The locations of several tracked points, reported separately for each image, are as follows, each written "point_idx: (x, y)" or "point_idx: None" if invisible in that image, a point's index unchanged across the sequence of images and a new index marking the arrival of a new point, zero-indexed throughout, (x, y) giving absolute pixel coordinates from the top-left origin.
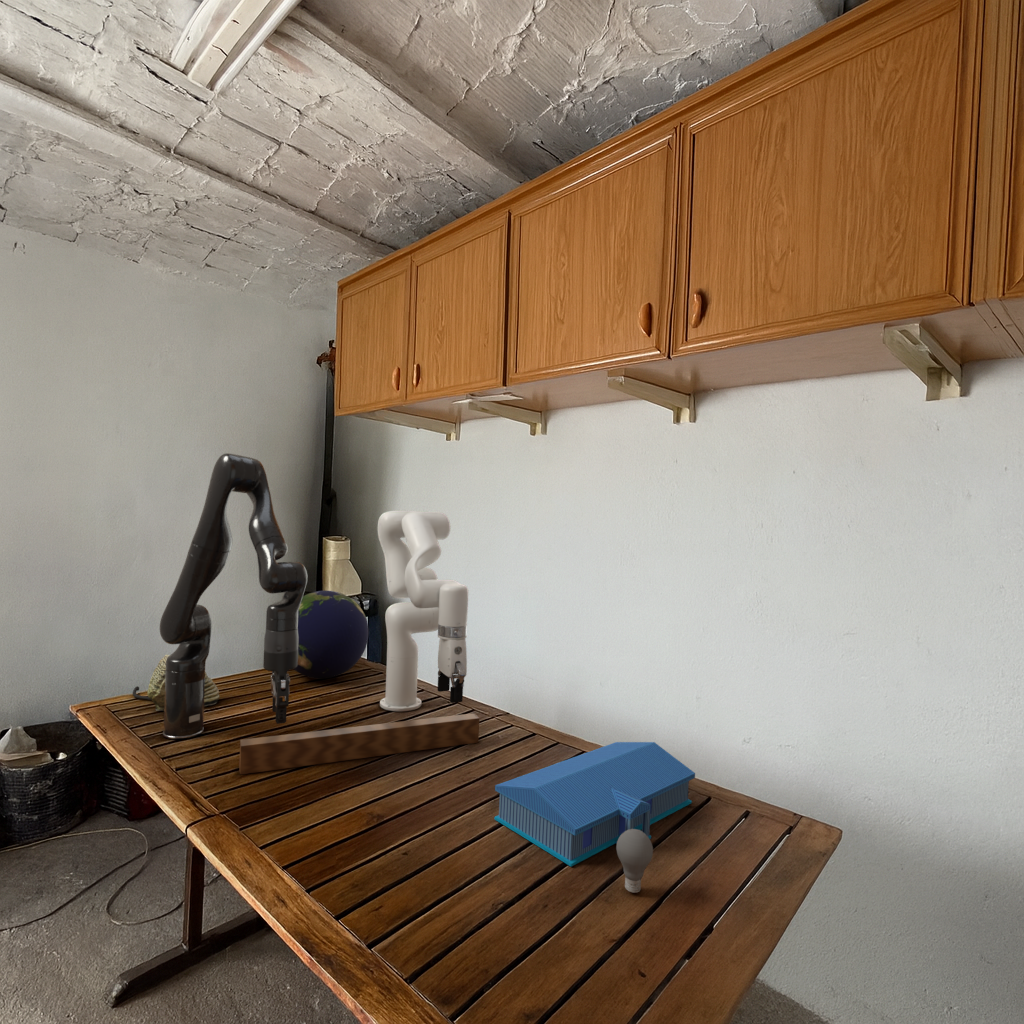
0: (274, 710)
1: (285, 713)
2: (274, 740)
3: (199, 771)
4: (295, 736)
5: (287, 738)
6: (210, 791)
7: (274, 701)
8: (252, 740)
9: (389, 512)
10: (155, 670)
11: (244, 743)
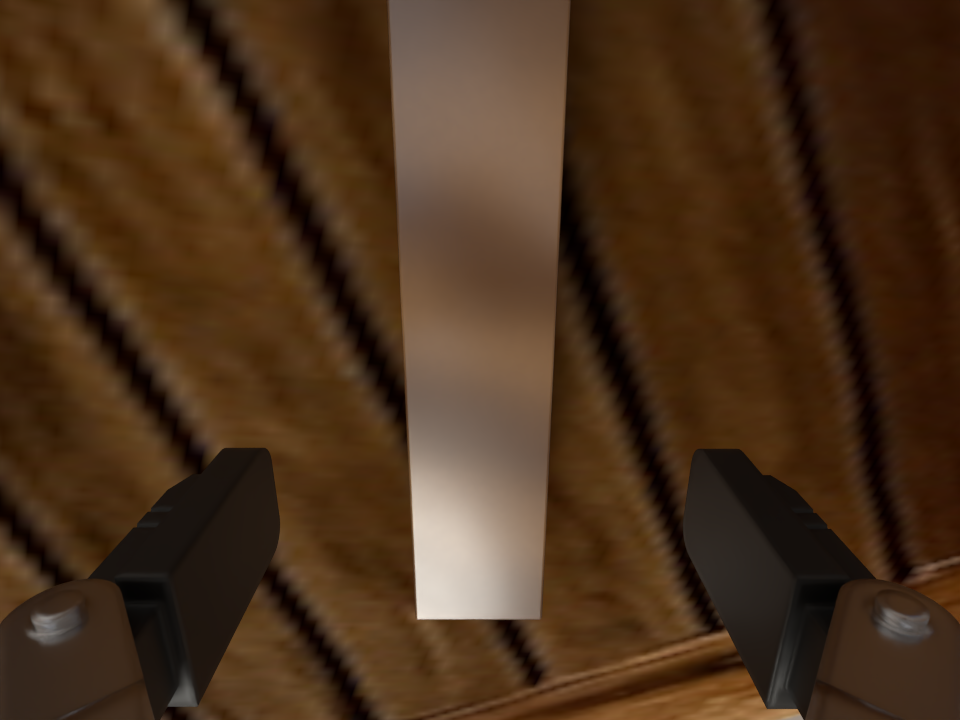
0: (274, 530)
1: (785, 519)
2: (515, 417)
3: (418, 652)
4: (476, 244)
5: (506, 316)
6: (661, 614)
7: (224, 619)
8: (457, 554)
9: None
10: None
11: (498, 600)
